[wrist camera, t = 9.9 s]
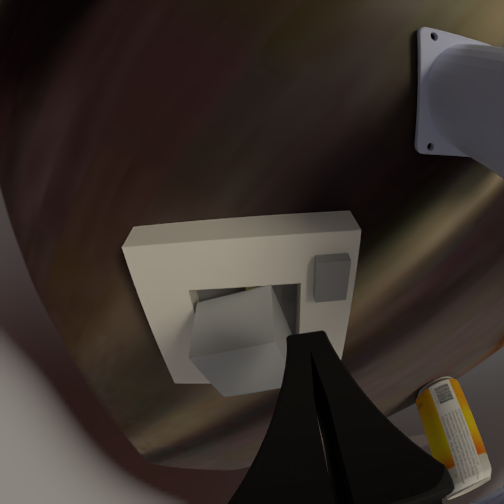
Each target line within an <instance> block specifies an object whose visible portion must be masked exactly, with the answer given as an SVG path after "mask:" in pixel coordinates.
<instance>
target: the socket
mask: <svg viewBox="0 0 504 504" xmlns="http://www.w3.org/2000/svg"><path fill="white" fill-rule="evenodd" d="M360 238H361V229H360V227H359V225H358V223H357V222H356V220H355V218H354V217H353V215H352V213H351V212H350V211H331V212H313V213H296V214H280V215H265V216H251V217H238V218H225V219H212V220H200V221H189V222H178V223H167V224H157V225H146V226H136V227H133V229H132V230H131V232H130V234H129V236H128V237H127V239H126V241H125V243H124V244H123V246H122V250H123V253H124V256H125V259H126V262H127V265H128V268H129V271H130V274H131V276H132V279H133V282H134V285H135V288H136V290H137V293H138V296H139V299H140V301H141V304H142V307H143V309H144V312H145V314H146V317H147V320H148V322H149V325H150V327H151V330H152V332H153V334H154V337H155V339H156V342H157V344H158V347H159V349H160V351H161V354H162V356H163V358H164V360H165V363H166V365H167V367H168V370H169V372H170V374H171V376H172V378H173V381H174V383H181V384H211V383H210V382H209V381H208V380H207V379H206V377H205V376H204V375H203V374H202V373H201V372H200V371H199V370H198V368H197V367H196V366H195V365H194V364H193V363H192V362H191V360H190V359H189V352H190V345H191V339H192V332H193V325H194V319H195V312H196V306H197V303H198V302H202V301H206V300H210V299H214V298H219V297H223V296H227V295H231V294H235V293H239V292H243V291H246V287H253V286H266V285H270V284H271V286H272V288H273V290H274V293H275V295H276V297H277V300H278V302H279V304H280V307H281V309H282V311H283V314H284V316H285V319H286V321H287V323H288V326H289V328H290V330H291V334H292V335H294V334H301V333H308V332H315V331H321V330H323V331H325V332H326V334H327V336H328V338H329V340H330V342H331V344H332V346H333V348H334V350H335V351H336V353H337V355H338V356H339V358H340V360H341V358H342V353H343V348H344V343H345V337H346V332H347V327H348V321H349V315H350V309H351V303H352V297H353V291H354V284H355V277H356V270H357V262H358V255H359V247H360Z"/></svg>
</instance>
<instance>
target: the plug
mask: <svg viewBox="0 0 504 504" xmlns="http://www.w3.org/2000/svg"><path fill="white" fill-rule="evenodd" d="M289 335H292V334H291V330H290V328H289V326H288V323H287V321H286V319H285V316H284V314H283V311H282V309H281V307H280V304H279V302H278V300H277V297H276V295H275V293H274V290H273V288H272V286H271V284H270V285H266V286H253V287H246V291H243V292H239V293H235V294H231V295H227V296H223V297H219V298H214V299H210V300H206V301H202V302H198V303H197V306H196V312H195V319H194V325H193V332H192V339H191V345H190V352H189V359H190V360H191V362H192V363H193V364H194V365H195V366H196V367H197V368H198V370H199V371H200V372H201V373H202V374H203V375H204V376H205V377H206V379H207V380H208V381H209V382H210V383H211V384H212V385H213V386H214V387H215V388H216V389H217V391H218V392H219V393H220V394H221V395H222V396H223V397H228V396H236V395H242V394H249V393H255V392H261V391H267V390H272V389H278V388H281V385H282V380H283V375H284V370H285V363H286V353H287V342H286V337H288V336H289Z"/></svg>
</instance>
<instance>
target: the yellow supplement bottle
mask: <svg viewBox="0 0 504 504" xmlns="http://www.w3.org/2000/svg"><path fill="white" fill-rule="evenodd" d="M416 405H417V408H418V411H419V414H420V417H421V420H422V423H423V426H424V430H425V433H426V436H427V439H428V443H429V446H430V449H431V452H432V456H433V458H435V459H436V460H438V461H439V462H441V463H442V464H444V465H445V466H446V468H447V470H448V472H449V474H450V476H451V478H452V480H453V483H454V487H455V489H454V491H453V492H452V493H450V494H449V495H447V496H446V497H447V498H448V499H452V498H455V497H458V496H460V495H462V494H465V493H467V492H469V491H471V490H473V489H475V488H477V487H479V486H480V485H482V484H484V483H486V482H487V481H489V480H490V479H491V477H490V475H491V465H490V463H489V459H488V456H487V454H486V451H485V448H484V445H483V442H482V439H481V437H480V434H479V431H478V429H477V426H476V423H475V421H474V418H473V416H472V413H471V411H470V408H469V406H468V403H467V401H466V399H465V397H464V394H463V392H462V389H461V387H460V385H459V382H458V381H457V380H456V379H452V378H451V377H449V376H445V377H441V378H438V379H436V380H433V381H432V382H430V383H428V384H427V385H425V386H424V387H423V388H422V389H421V390H420V391H419V393H418V397H417V399H416Z"/></svg>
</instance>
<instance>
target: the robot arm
mask: <svg viewBox="0 0 504 504" xmlns="http://www.w3.org/2000/svg"><path fill="white" fill-rule="evenodd" d="M431 33H433V35H434V37H435V38H434V40H432V39H431ZM417 45H418V95H417V118H416V133H415V149H416V150H417V151H418V152H419V153H421V154H433V155H450V156H463V157H471V158H473V159H474V160H476V161H477V162H479V163H481V164H482V165H484V166H485V167H487V168H488V169H490V170H491V171H493V172H494V173H496V174H497V175H499V176H500V177H502V178H503V179H504V47H496V46H492V45H489V44H486V43H483V42H480V41H476V40H473V39H470V38H467V37H463V36H460V35H456V34H452V33H448V32H444V31H440V30H436V29H432V28H427V27H421V28H419V29H418V31H417ZM429 143H431V147H430V148H429V149H427V145H428V144H429ZM286 342H287V353H286V363H285V370H284V375H283V380H282V385H281V390H280V393H279V397H278V401H277V404H276V408H275V411H274V414H273V417H272V420H271V423H270V425H269V428H268V430H267V433H266V435H265V438H264V440H263V442H262V445H261V447H260V449H259V451H258V453H257V455H256V457H255V459H254V461H253V463H252V465H251V467H250V469H249V470H248V472H247V474H246V476H245V478H244V479H243V481H242V483H241V484H240V486H239V487H238V489H237V491H236V492H235V494H234V495H233V497H232V498H231V500H230V501H229V503H228V504H442V500H441V499H442V498H444V497H446V496H447V495H449V494H450V493H452V492H453V491H454V489H455V487H454V483H453V480H452V478H451V476H450V474H449V472H448V470H447V468H446V466H445V465H444V464H442V463H441V462H439V461H438V460H436V459H435V458H433V457H432V456H431V455H429V454H428V453H426V452H425V451H424V450H422V449H421V448H420V447H419V446H417V445H416V444H415V443H413V442H412V441H411V440H410V439H409V438H408V437H406V436H405V435H404V434H403V433H402V432H401V431H400V430H399V429H398V428H396V427H395V426H394V425H393V424H392V423H391V422H390V421H389V420H388V419H387V418H386V417H385V416H384V415H383V414H382V413H381V412H380V411H379V409H378V408H377V407H376V406H375V405H374V404H373V403H372V402H371V400H370V399H369V398H368V397H367V396H366V394H365V393H364V392H363V391H362V389H361V388H360V387H359V386H358V384H357V383H356V381H355V380H354V379H353V377H352V376H351V374H350V373H349V372H348V370H347V369H346V367H345V366H344V364H343V363H342V361H341V360H340V358H339V356H338V355H337V353H336V351H335V350H334V348H333V346H332V344H331V342H330V340H329V338H328V336H327V334H326V332H325V331H323V330H321V331H315V332H308V333H301V334H294V335H289V336H288V337H286ZM316 414H317V415H316ZM317 418H318V420H317ZM318 421H319V425H320V429H321V433H322V437H323V442H324V446H325V452H326V460H327V466H326V461H325V457H324V451H323V447H322V441H321V436H320V431H319V426H318ZM327 468H328V471H327ZM470 504H504V486H503V487H501V488H499V489H497V490H496V491H494V492H492V493H490V494H488V495H487V496H484V497H482V498H480V499H478V500H476V501H474V502H472V503H470Z"/></svg>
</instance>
